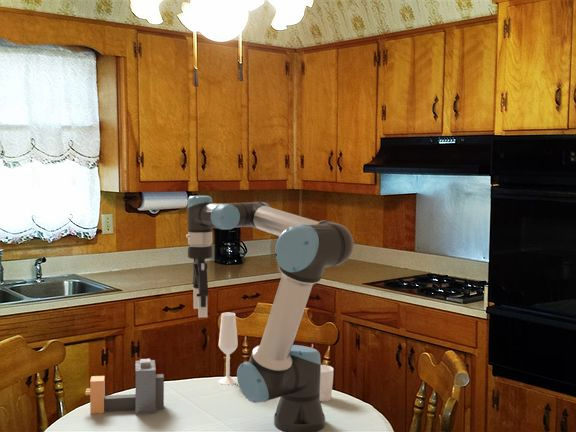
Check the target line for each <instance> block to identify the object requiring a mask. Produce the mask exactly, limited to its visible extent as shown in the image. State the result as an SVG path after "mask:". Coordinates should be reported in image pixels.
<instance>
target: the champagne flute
mask: <svg viewBox="0 0 576 432" xmlns="http://www.w3.org/2000/svg"><path fill="white" fill-rule="evenodd" d="M218 337H219V339H218V347H219V349H220V351H221V352H222V353H224V354H225V357H226V359H225V361H226V362H225V365H226V366H225V367H226V368H225V369H226V370H225V371H226V372H225V374H226V375H225V376H224V377H222V378H221V379H219V380H218V381H217V382H218V383H219V384H221V385H228V386H229V385H234V384H238V381H237V379H235V378H233V377H232V376H230V374H231V373H230V372H231V371H230V369H231V367H230V364H231V363H230V361H231V357H230V356H231V354H233V353H234V352H235V351H236V349H237V348H238V347H239V346H238V345H239V344H238V343H239V342H238V341H239V340H238V330H237V318H236V313H235V312H222V313H221V319H220V327H219V335H218Z"/></svg>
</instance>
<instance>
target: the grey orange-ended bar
mask: <svg viewBox="0 0 576 432" xmlns="http://www.w3.org/2000/svg"><path fill="white" fill-rule="evenodd" d="M105 379H106V377H105V375H94V376H93V375H92V376H91V377H90V379H89V380H90V381H89V383H90V385H89V386H90V387H89V388H85V396H90V397H89V399H90V400H89V401H90V403H89V405H90V407H89V409H90V411H89V412H90V414H91V415H92V414H104V413H105V412H120V411H121V412H125V411H136V393H133V394H132V393H131V394H113V395H105V394H106V393H105V392H106V391H105V390H106V386H105V384H106V383H105V382H106V381H105ZM164 381H165V376H164V373H160V374H159V373H156V410H164V407H165V405H164V399H165V398H164V397H165V395H164V394H165V392H164V391H165V389H164V388H165V384H164V383H165V382H164Z"/></svg>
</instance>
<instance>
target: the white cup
mask: <svg viewBox="0 0 576 432" xmlns="http://www.w3.org/2000/svg"><path fill="white" fill-rule="evenodd" d="M334 371H335V370H334V367H332V366H331V365H326V364H325V365H324V364H321V371H320V402H329V401H331V399H332V394H333V393H332V392H333V384H334Z"/></svg>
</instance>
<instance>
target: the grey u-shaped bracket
mask: <svg viewBox="0 0 576 432" xmlns="http://www.w3.org/2000/svg"><path fill="white" fill-rule="evenodd" d="M156 368H157V367H156V360H155V359H151V358H140V359H139V360H135V394H136V410H135V415H150V414H151V415H152V414H153V415H154V414H156V410H157V409H156V374H157V373H156V371H157V369H156Z"/></svg>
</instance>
